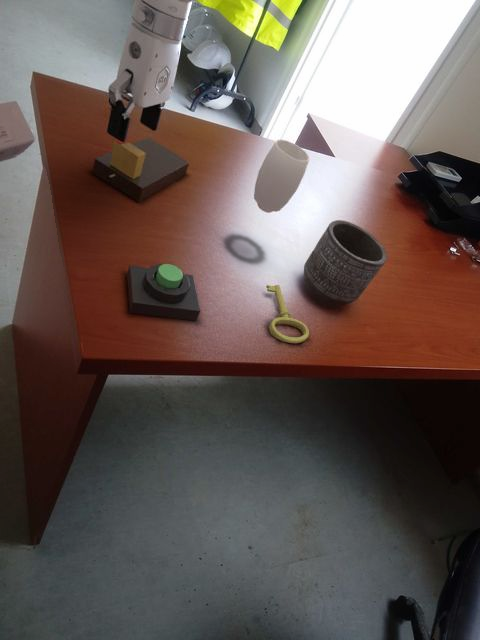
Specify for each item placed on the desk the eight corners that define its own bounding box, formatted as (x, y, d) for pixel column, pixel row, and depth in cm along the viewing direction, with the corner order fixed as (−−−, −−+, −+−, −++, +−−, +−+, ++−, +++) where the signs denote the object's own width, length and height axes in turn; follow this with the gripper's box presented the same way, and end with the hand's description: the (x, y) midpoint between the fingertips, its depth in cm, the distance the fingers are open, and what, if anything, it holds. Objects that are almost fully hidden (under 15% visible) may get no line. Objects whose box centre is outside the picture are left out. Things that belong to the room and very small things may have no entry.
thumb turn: (140, 175, 84) (146, 152, 81) (132, 179, 82) (138, 155, 79) (117, 161, 84) (122, 136, 81) (109, 164, 82) (114, 139, 79)
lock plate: (130, 207, 82) (134, 191, 80) (83, 177, 82) (85, 161, 79) (185, 175, 97) (189, 161, 95) (145, 150, 97) (149, 136, 95)
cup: (220, 244, 86) (265, 141, 72) (239, 232, 91) (284, 134, 77) (250, 266, 85) (301, 167, 71) (268, 253, 90) (318, 158, 77)
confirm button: (156, 287, 65) (159, 278, 64) (154, 270, 68) (157, 261, 66) (180, 291, 67) (184, 282, 66) (177, 274, 69) (181, 266, 68)
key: (273, 290, 83) (278, 282, 82) (310, 341, 78) (316, 333, 77) (242, 294, 79) (247, 285, 77) (280, 348, 74) (285, 340, 72)
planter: (309, 263, 95) (341, 212, 86) (357, 298, 94) (394, 249, 85) (285, 286, 85) (318, 231, 77) (338, 325, 84) (377, 274, 76)
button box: (129, 313, 65) (135, 292, 62) (126, 275, 70) (132, 255, 67) (196, 321, 70) (204, 302, 67) (189, 285, 74) (196, 266, 72)
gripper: (149, 35, 60) (122, 155, 71) (206, 32, 73) (175, 134, 84) (101, 4, 60) (81, 129, 71) (166, 7, 73) (141, 112, 84)
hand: (132, 131), depth 78 cm, fingers open, 9 cm apart
